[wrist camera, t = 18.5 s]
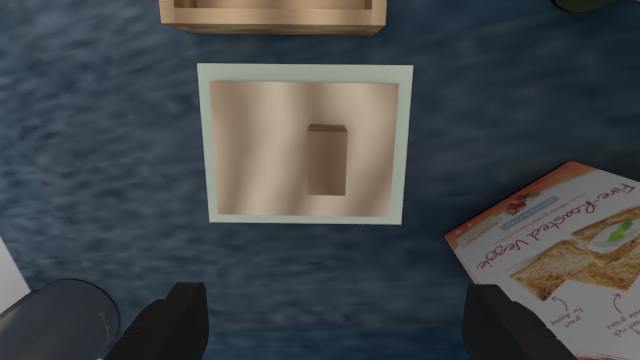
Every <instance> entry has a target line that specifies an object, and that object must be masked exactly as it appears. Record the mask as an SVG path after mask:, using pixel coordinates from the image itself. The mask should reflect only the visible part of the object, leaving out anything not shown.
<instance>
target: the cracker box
mask: <svg viewBox="0 0 640 360" xmlns="http://www.w3.org/2000/svg"><path fill="white" fill-rule="evenodd" d="M445 238H446V240H447V241H448V243H449V245H450V246H451V248H452V249H453V251H454V253H455V254H456V256H457V257H458V259H459V260H460V262H461V263H462V265H463V267H464V268H465V270H466V271H467V273H468V274H469V276H470V277H471V278H472V280H473V281H474V283H475V284H497V285H498V286H499V287H500V288H501V289H502V290H503V291H504V292H505V293H506V295H507V296H508V297H509V298H510V299H511V300H512V301H517V302H519V303H521V304H522V305H524V306H525V307H527V308H528V309H530V310H531V311H533V312H534V313H535V314H536V315H537V316H538V317H539V318H540V319H541V320H542V321H543V322H544V323H545V324H546V327H547V328H549V329H550V330H551V331H552V332H553V333H554V334H555V335H556V336H557V339H559V340H560V341H561V342H562V343H563V344H564V345H565V346H566V347H567V348H568V349H569V350H570V351H571V353H572V354H573V355H574V356H575V357H576V358H577V359H578V360H640V182H636V181H633V180H630V179H627V178H624V177H621V176H618V175H615V174H612V173H609V172H606V171H603V170H599V169H596V168H593V167H590V166H587V165H584V164H580V163H577V162H574V161H568V162H567V163H565V164H564V165H562V166H560V167H559V168H557V169H555V170H554V171H552V172H550V173H549V174H547V175H545V176H543V177H542V178H540V179H538V180H537V181H535V182H534V183H532V184H530V185H528V186H527V187H525V188H523V189H522V190H520V191H518V192H517V193H515V194H513V195H512V196H510V197H508V198H507V199H505V200H503V201H501V202H500V203H498V204H496V205H495V206H493V207H491V208H490V209H488V210H486V211H484V212H483V213H481V214H479V215H478V216H476V217H474V218H473V219H471V220H469V221H467V222H466V223H464V224H462V225H461V226H459V227H457V228H456V229H454V230H452V231H451V232H449V233H447V234H446V235H445Z"/></svg>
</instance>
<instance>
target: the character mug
mask: <svg viewBox="0 0 640 360" xmlns="http://www.w3.org/2000/svg"><path fill="white" fill-rule="evenodd" d="M613 1H615V0H555V2H556V4H557V5H558V6H560V7H562V8H564V9H566V10H568V11H570V12H587V11H591V10H594V9H596V8H599V7H602V6H604V5H607V4H609V3H611V2H613ZM637 1H640V0H637Z"/></svg>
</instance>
